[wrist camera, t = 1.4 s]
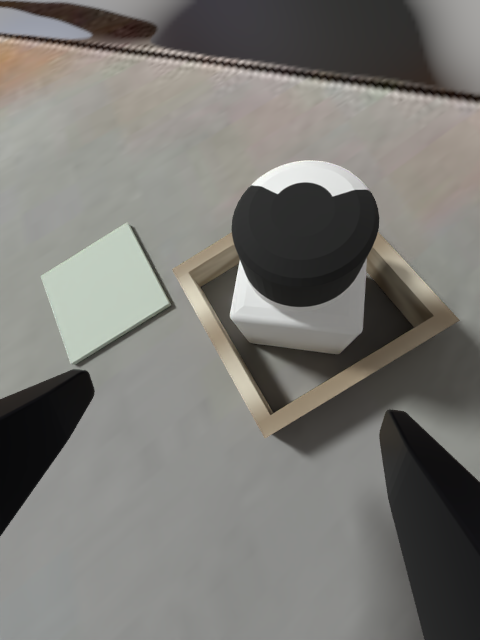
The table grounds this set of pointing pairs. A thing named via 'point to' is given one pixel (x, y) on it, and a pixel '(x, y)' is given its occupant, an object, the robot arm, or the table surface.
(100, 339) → the sage mat
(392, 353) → the birch box
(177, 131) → the table surface
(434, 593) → the robot arm
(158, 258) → the table surface
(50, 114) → the table surface
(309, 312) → the medicine bottle
